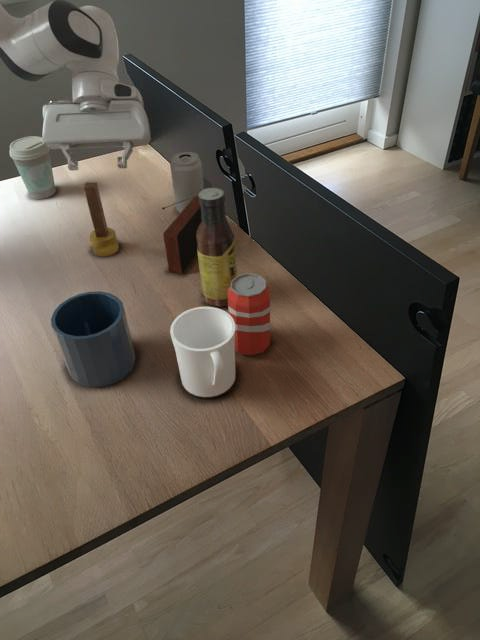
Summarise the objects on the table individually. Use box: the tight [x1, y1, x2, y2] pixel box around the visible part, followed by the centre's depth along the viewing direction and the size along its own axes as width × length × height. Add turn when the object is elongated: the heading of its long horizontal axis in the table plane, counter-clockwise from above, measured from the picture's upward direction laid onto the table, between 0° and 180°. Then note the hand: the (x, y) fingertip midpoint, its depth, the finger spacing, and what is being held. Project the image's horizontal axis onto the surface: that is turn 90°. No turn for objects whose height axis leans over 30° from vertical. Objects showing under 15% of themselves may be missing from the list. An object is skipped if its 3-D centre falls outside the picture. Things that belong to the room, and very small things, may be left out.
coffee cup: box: [9, 135, 57, 200], centre depth 121 cm, size 8×8×12 cm
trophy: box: [83, 181, 120, 257], centre depth 102 cm, size 5×5×14 cm
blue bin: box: [50, 291, 136, 388], centre depth 80 cm, size 10×10×10 cm
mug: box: [169, 306, 236, 400], centre depth 76 cm, size 11×9×10 cm
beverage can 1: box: [169, 151, 205, 214], centre depth 112 cm, size 6×6×12 cm
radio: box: [162, 190, 202, 275], centre depth 99 cm, size 19×3×15 cm, turn 159°
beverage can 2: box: [227, 272, 271, 356], centre depth 81 cm, size 6×6×12 cm
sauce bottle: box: [196, 187, 238, 308], centre depth 87 cm, size 7×6×20 cm
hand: (97, 168), depth 102 cm, fingers open, 8 cm apart
